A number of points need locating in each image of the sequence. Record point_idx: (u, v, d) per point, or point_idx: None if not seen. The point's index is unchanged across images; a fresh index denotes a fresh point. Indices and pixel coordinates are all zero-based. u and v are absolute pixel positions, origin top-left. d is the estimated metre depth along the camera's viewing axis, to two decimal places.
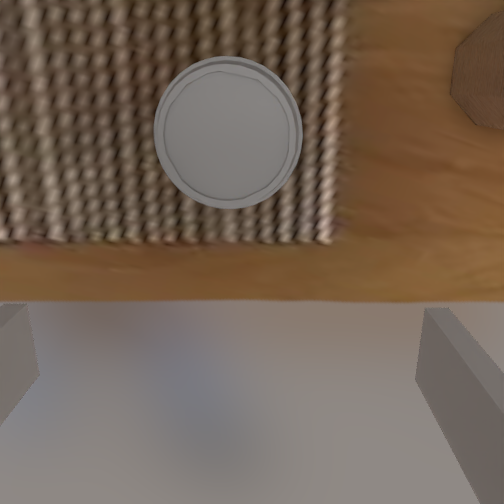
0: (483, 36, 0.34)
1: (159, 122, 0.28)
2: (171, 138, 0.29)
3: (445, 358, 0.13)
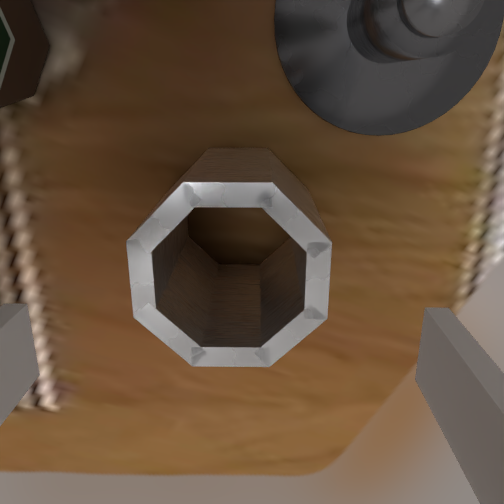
0: None
1: None
2: None
3: (445, 358, 0.13)
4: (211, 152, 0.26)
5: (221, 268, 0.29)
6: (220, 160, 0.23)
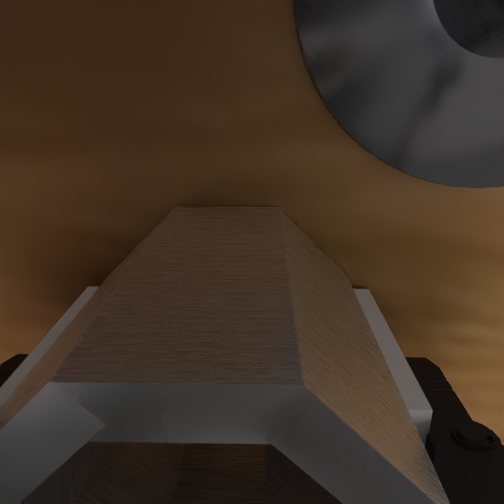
0: (91, 300, 0.13)
1: None
2: None
3: None
4: (175, 221, 0.14)
5: None
6: (184, 252, 0.11)
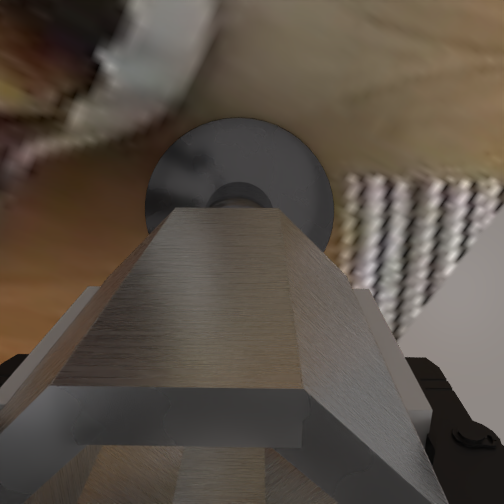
0: (91, 302, 0.13)
1: None
2: None
3: None
4: (175, 223, 0.14)
5: None
6: (184, 254, 0.11)
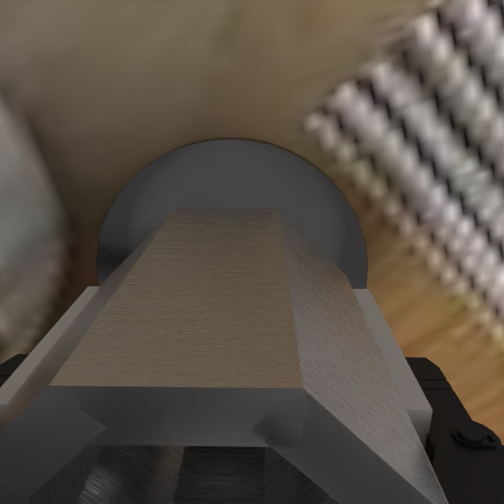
0: (91, 302, 0.13)
1: None
2: None
3: None
4: (175, 223, 0.14)
5: None
6: (184, 255, 0.11)
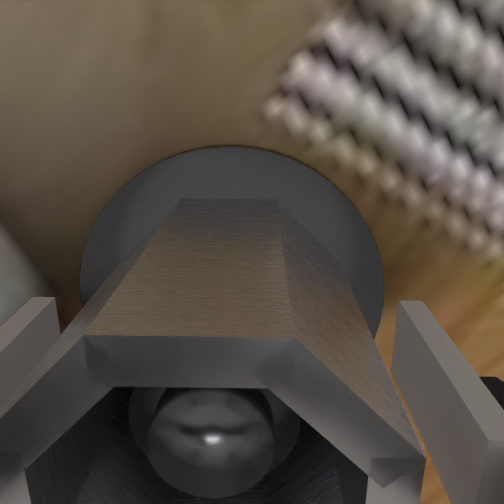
0: (106, 283, 0.15)
1: None
2: None
3: (415, 348, 0.14)
4: (181, 212, 0.15)
5: None
6: (191, 237, 0.13)
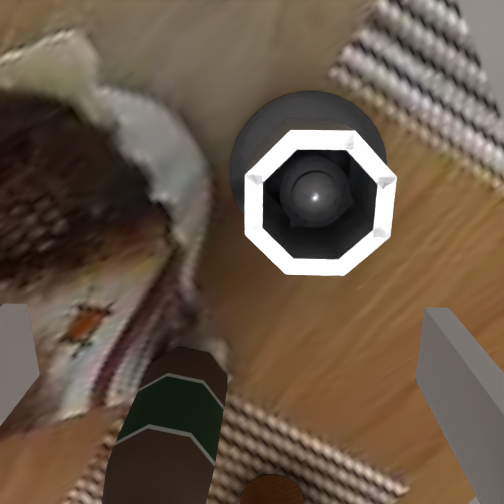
0: (259, 149, 0.32)
1: None
2: None
3: (445, 358, 0.13)
4: (291, 119, 0.33)
5: None
6: (304, 122, 0.30)
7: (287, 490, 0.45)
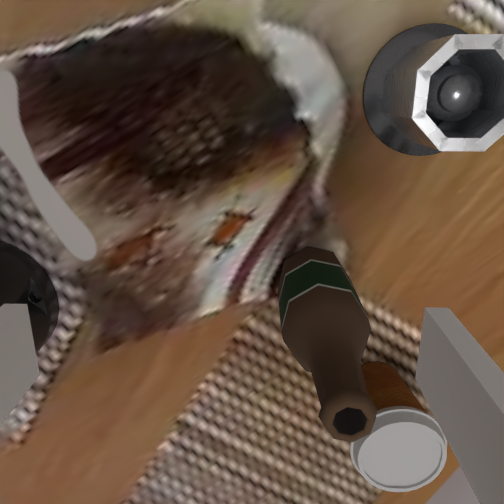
0: (401, 65, 0.41)
1: (369, 481, 0.46)
2: (380, 479, 0.47)
3: (445, 358, 0.13)
4: None
5: None
6: None
7: (391, 371, 0.54)
